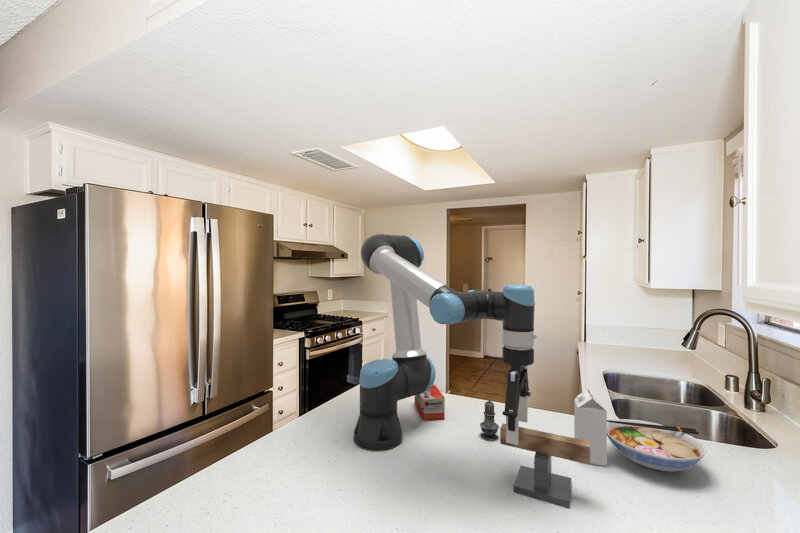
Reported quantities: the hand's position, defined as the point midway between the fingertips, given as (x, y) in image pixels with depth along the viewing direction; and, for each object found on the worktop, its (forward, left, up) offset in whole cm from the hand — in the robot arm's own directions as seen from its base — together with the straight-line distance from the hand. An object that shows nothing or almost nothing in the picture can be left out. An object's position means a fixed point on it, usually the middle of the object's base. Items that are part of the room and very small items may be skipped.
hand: (517, 431), depth 90 cm
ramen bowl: (+31, +26, -13) cm, 42 cm away
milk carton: (+16, +21, -13) cm, 29 cm away
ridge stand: (+6, 0, -12) cm, 14 cm away
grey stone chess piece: (-12, +20, -13) cm, 26 cm away
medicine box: (-36, +28, -13) cm, 48 cm away
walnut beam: (+6, 0, -3) cm, 7 cm away
